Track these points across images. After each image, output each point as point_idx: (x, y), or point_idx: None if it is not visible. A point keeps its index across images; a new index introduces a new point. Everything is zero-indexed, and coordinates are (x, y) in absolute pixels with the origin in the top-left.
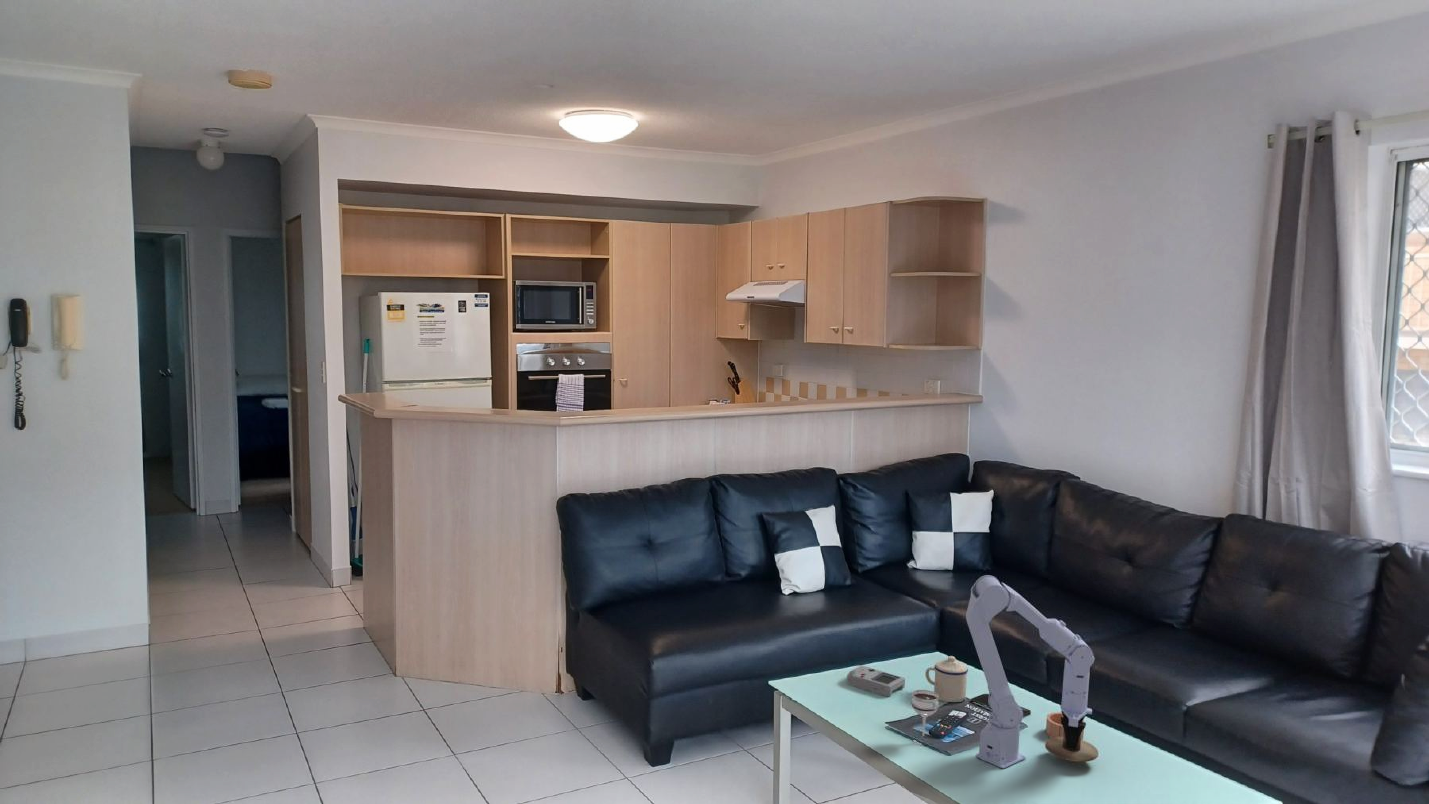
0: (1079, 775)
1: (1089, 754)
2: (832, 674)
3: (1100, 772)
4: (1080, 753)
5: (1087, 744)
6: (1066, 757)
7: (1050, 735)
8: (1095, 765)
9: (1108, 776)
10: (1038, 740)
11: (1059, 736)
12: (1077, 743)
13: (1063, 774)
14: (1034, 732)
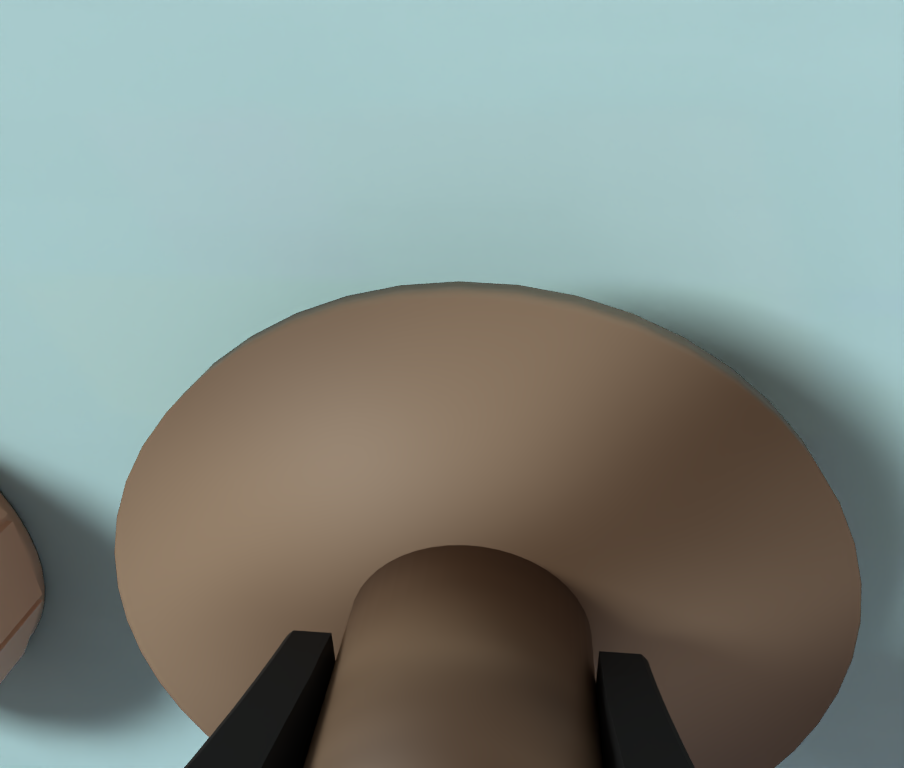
0: (869, 439)
1: (617, 434)
2: None
3: (697, 183)
4: (629, 549)
5: (223, 445)
6: (823, 699)
7: (16, 661)
8: (484, 247)
9: (812, 61)
10: (166, 722)
11: (9, 618)
12: (678, 739)
13: (879, 585)
14: (24, 737)
